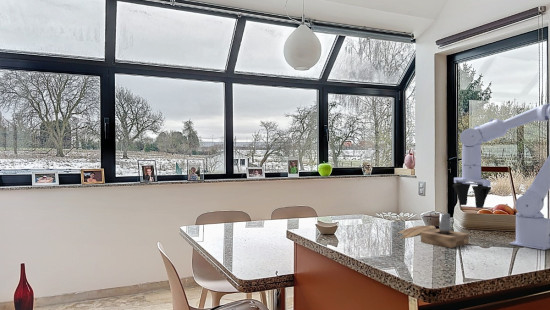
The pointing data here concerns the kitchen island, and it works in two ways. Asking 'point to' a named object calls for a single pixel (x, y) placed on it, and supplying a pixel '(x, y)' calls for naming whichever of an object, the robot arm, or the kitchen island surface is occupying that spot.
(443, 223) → the steel peg
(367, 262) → the kitchen island surface
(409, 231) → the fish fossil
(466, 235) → the walnut hole block
